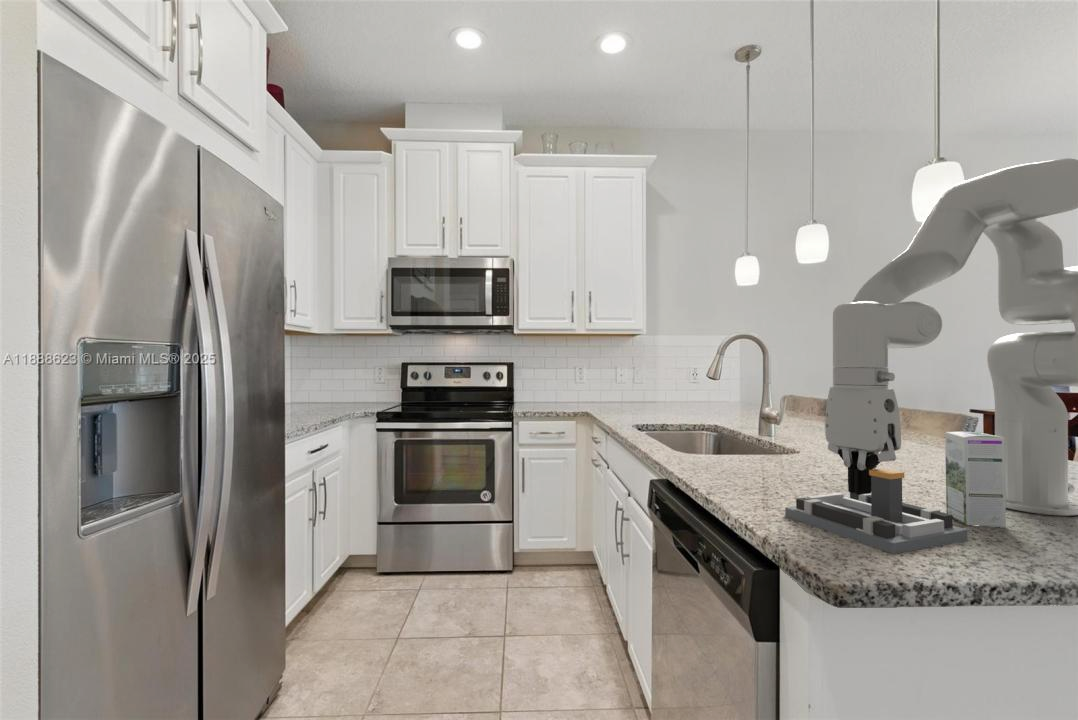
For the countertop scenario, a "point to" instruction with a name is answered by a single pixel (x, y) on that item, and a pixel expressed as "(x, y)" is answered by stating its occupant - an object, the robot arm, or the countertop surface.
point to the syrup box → (975, 478)
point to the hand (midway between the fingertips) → (859, 492)
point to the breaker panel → (907, 533)
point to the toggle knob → (886, 494)
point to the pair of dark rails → (865, 522)
